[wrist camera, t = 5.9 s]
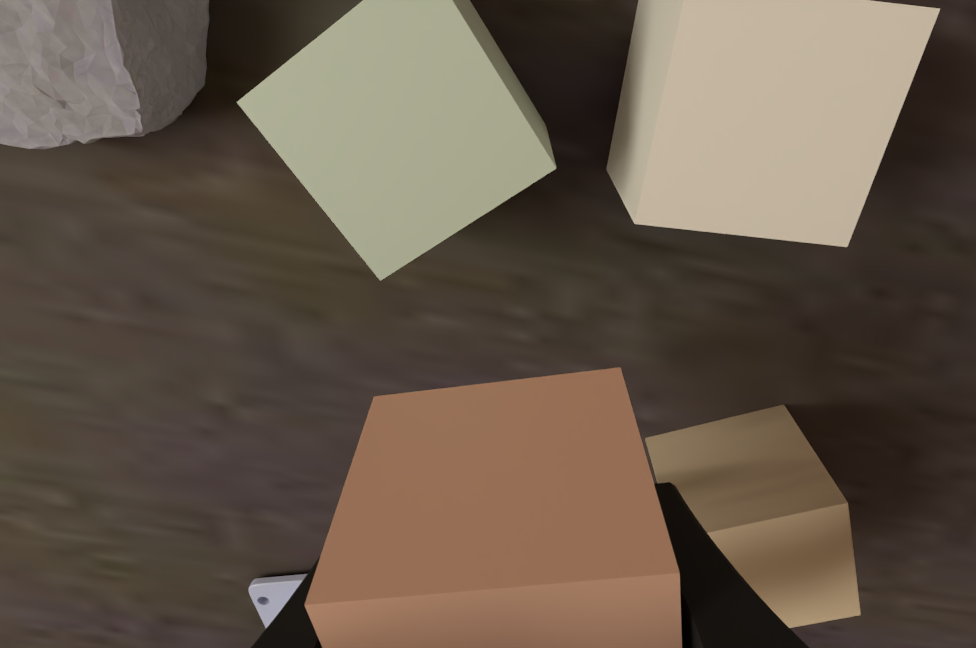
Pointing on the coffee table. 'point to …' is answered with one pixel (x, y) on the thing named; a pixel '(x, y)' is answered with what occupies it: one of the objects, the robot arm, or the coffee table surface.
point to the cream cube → (761, 112)
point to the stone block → (97, 68)
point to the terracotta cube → (500, 524)
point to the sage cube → (403, 125)
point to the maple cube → (767, 510)
